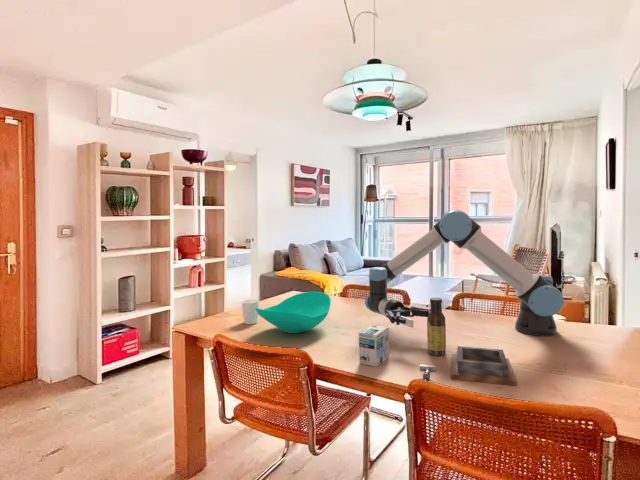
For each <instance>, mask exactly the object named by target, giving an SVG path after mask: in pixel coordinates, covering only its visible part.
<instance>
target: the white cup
mask: <svg viewBox="0 0 640 480" xmlns="http://www.w3.org/2000/svg"><path fill="white" fill-rule="evenodd" d="M259 305H260V301H259V299H245V300H243V301H241V311H242V318H243V319H242V320H243V324H244V323H245V325H255V323H256V324H258V323H259V317H260V315H259V314H258V313H257V311H256V308H260V307H259Z"/></svg>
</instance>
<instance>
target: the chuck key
mask: <svg viewBox="0 0 640 480" xmlns="http://www.w3.org/2000/svg"><path fill="white" fill-rule="evenodd" d="M419 370H420V371H424V372H423V374H422V379H423V380H424V379H426V380H428V381H429V380H430V378H431V374H430V372H437V365H430V364H429V365H427V364H420V365H419Z"/></svg>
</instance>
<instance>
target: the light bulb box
mask: <svg viewBox="0 0 640 480" xmlns="http://www.w3.org/2000/svg"><path fill="white" fill-rule="evenodd" d="M389 329H390V328H389V327H387V326H379V325H374V324H371V325H369V326H368V327H367V328H364V329H363V330H362V331H360V332H358V349H359V350H358V352H359V354H358V355H359V359H358V360H359V361H358V362H359V364H361V365H365V366H366V365H367V366H370V367H375V368H377V367H379V366H380V365H381V364H382V363H384V362H386V360H388V359H389V358H390V357H389V356H390V351H389V350H390V347H389V346H390V345H389V343H390V341H389V339H390V337H389V331H390V330H389Z"/></svg>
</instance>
